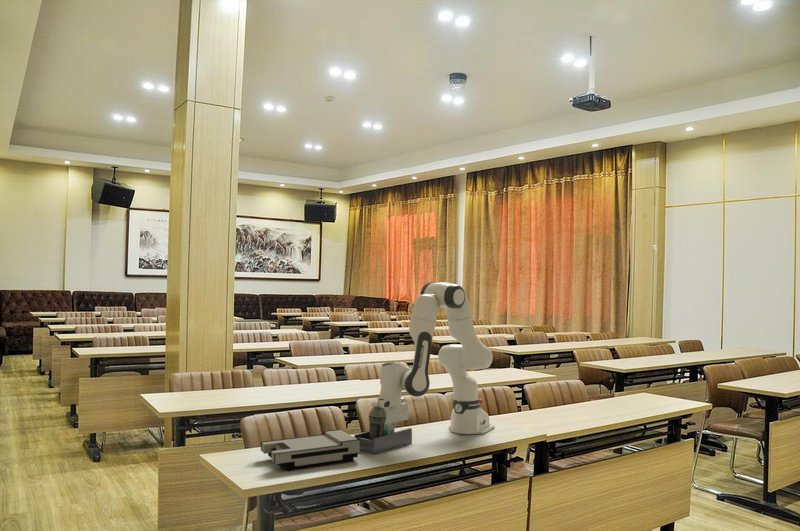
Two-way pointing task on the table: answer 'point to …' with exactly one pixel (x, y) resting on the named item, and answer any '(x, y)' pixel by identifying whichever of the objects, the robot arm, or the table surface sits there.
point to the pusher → (386, 431)
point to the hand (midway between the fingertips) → (390, 434)
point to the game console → (312, 450)
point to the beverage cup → (377, 421)
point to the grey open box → (384, 441)
